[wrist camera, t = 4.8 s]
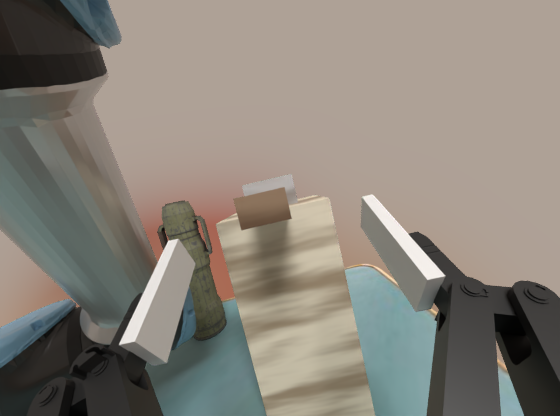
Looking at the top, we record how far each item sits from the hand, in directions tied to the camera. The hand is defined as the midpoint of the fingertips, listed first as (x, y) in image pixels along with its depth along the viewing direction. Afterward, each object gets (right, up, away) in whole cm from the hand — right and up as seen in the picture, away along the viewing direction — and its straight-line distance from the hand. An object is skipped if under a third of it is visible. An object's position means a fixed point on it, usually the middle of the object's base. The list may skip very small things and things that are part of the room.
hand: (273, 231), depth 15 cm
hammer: (0, +1, +10) cm, 11 cm away
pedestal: (+6, -27, +18) cm, 33 cm away
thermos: (-18, -31, +41) cm, 55 cm away
